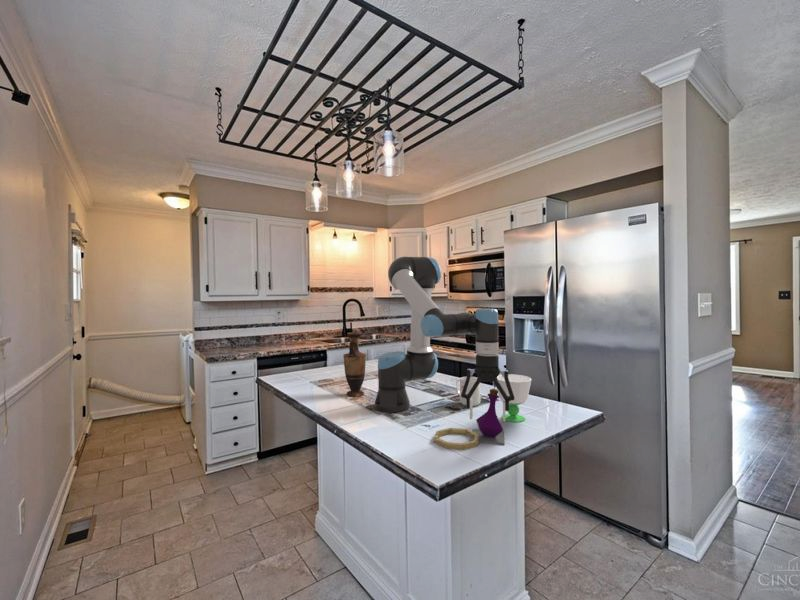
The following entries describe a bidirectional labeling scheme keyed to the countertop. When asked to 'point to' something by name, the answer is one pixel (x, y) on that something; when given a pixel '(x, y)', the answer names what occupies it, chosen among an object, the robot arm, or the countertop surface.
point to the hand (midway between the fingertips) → (487, 419)
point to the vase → (354, 366)
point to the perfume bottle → (490, 417)
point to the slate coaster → (489, 438)
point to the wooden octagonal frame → (456, 445)
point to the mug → (476, 393)
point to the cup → (515, 395)
